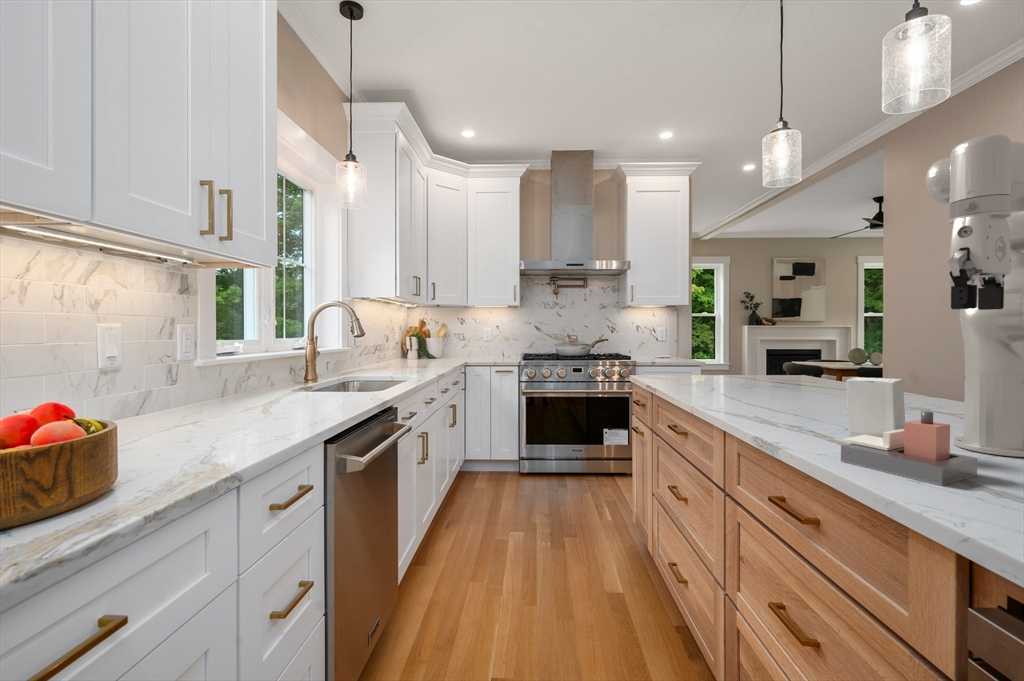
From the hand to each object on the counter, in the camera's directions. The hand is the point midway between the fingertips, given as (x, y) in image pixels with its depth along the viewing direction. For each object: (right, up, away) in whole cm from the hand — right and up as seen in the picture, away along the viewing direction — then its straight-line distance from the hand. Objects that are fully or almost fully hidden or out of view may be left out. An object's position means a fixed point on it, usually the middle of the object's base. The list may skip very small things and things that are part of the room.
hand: (977, 309), depth 80 cm
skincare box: (-8, -28, +13) cm, 32 cm away
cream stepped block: (-13, -25, +7) cm, 29 cm away
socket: (-12, -28, +1) cm, 31 cm away
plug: (-9, -28, 0) cm, 30 cm away
